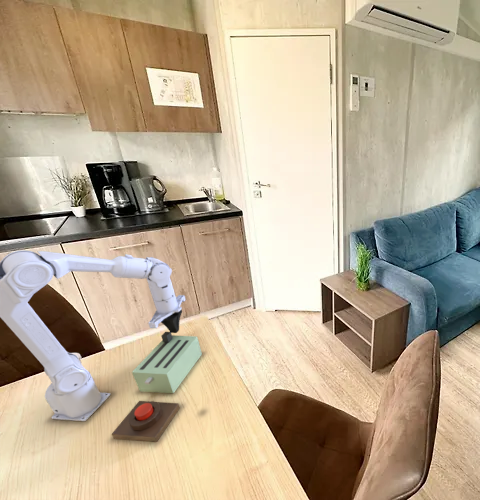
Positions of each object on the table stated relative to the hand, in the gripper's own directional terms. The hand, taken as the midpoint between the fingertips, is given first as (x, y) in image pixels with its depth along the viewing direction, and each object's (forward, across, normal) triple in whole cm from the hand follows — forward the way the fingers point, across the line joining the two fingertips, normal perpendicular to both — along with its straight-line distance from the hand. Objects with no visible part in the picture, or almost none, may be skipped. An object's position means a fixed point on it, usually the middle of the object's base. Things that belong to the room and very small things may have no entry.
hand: (174, 331), depth 92 cm
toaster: (+8, -9, -3) cm, 12 cm away
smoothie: (+8, -16, +21) cm, 27 cm away
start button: (+5, -25, -7) cm, 26 cm away
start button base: (+8, -25, -7) cm, 27 cm away
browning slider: (+1, -4, 0) cm, 4 cm away
